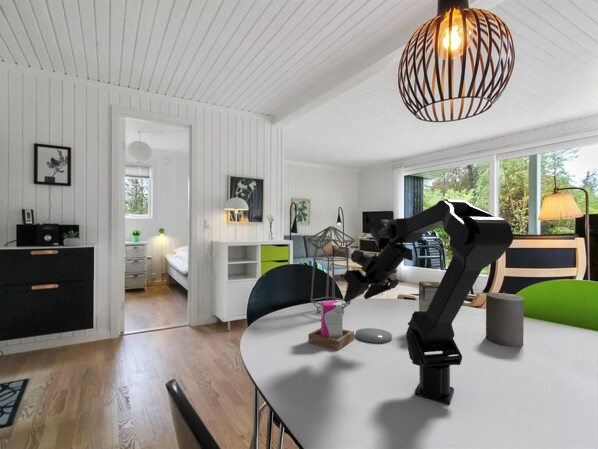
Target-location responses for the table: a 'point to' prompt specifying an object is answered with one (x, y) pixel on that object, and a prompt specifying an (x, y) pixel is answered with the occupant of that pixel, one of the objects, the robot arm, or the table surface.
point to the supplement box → (331, 319)
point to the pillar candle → (504, 319)
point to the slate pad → (373, 335)
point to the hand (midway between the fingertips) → (355, 299)
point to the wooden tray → (331, 339)
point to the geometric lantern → (329, 260)
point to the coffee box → (426, 294)
